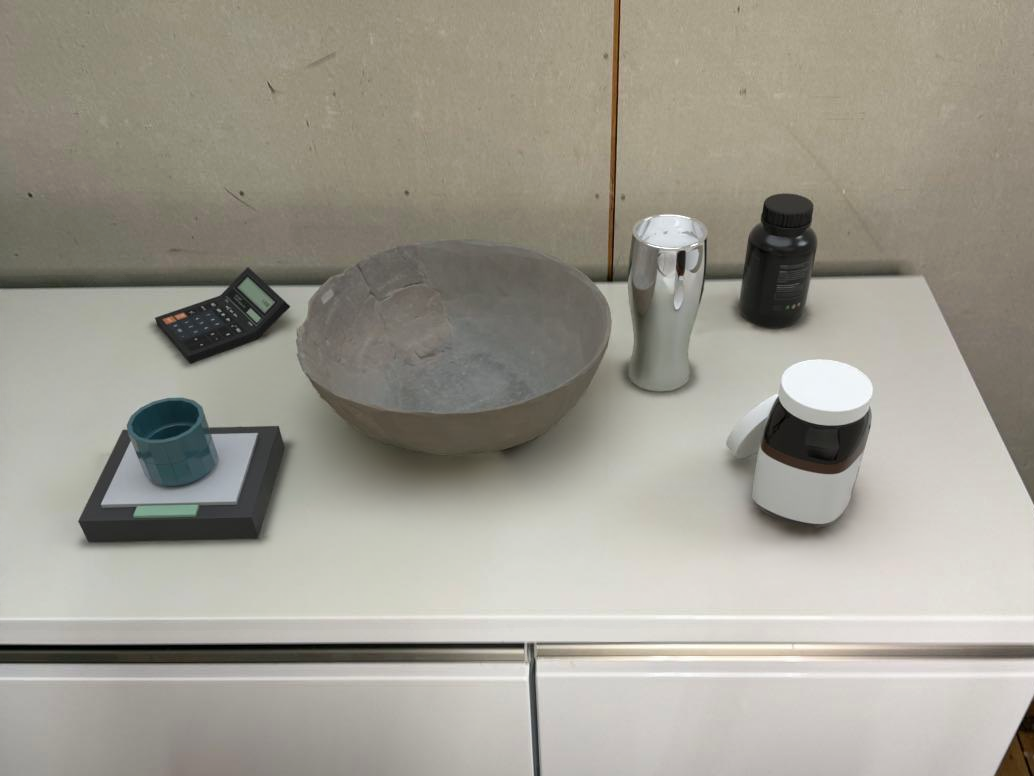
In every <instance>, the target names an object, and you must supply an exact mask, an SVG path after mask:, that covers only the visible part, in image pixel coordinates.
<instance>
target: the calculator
mask: <svg viewBox="0 0 1034 776" xmlns="http://www.w3.org/2000/svg"><path fill="white" fill-rule="evenodd" d="M290 308H291V306H290V305H289V303H287V301H285V300H284V298H283V297H281V296H280V295H279V294H278V293H277V292H276V291H275V290H274V289H273V288H271V287H270V286H269V285H268V284H267V283H266V282H265V281H264V280H263V279H262V278H261V277H259V276H258V275H257V274H256V273H255V271H254V270H252V269H251V268H250V267H249V266H247V267H246V268H245V269H244V271H242V272H241V274H239V275H238V276H237V277H236V279H234V280H233V281H232V282H231V284H230V285H229V286H228V287H227V288H226V289H225V290H224V291H223V292H222V293H221V294H220V295H217V296H214V297H211V298H208V299H206V300H202V301H200V302H197V303H194V304H191V305H187V306H185V307H182V308H178V309H176V310H173V311H170V312H168V313H165V314H162V315H159V316H157V317H154V319H155V320H154V321H155V323H156V325H157V326H158V328H159V329H160V330H161V331H162V332H163V334H164V335H165V336H166V337H167V338H168V339H169V341H170V342H171V343H172V344H173V345H174V347H175V348H176V349H177V350H178V351H179V353H181V355H182V356H183V357H184V358H185V360H187V361H188V363H189V364H190V365H191V364H194V363H196V362H199V361H202V360H204V359H207V358H209V357H212V356H215V355H217V354H220V353H224V352H226V351H228V350H232V349H234V348H237V347H240V346H242V345H245V344H248V343H250V342H253V341H257V340H259V339H260V337H262V336H263V335H264V334H265V332H267V331H268V330H269V329H270V328H271V327H272V326H273V325H274V324H275V323H276V322H277V321H278V320H279V319H280V318H281V317H282V316H283V315H284V314H285V313H286V312H287V311H288V310H289V309H290Z"/></svg>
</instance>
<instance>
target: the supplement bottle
mask: <svg viewBox="0 0 1034 776" xmlns="http://www.w3.org/2000/svg"><path fill="white" fill-rule="evenodd" d="M813 214H814V202H812V200H810V199H809V198H808V197H806V196H803V195H800V194H795V193H790V192H789V193H787V192H786V193H785V192H784V193H783V192H782V193H776V194H773V195H769V196H767V197H766V198H765V199H764V200H763V206H762V211H761V214H760V222H758V223H757V224H756V225H754V226H753V227H752V229H750V231H749V234H748V237H747V244H746V249H745V256H744V257H745V258H744V264H743V272H742V279H741V285H740V286H741V287H740V293H739V300H738V301H739V302H738V309H739V312H740V314H741V315H742V317H743V318H744V319H746V320H747V321H748V322H749V323H752V324H754V325H757V326H759V327H765V328H785V327H788V326H791V325H793V324H796V323H797V322H798V321H799V320H801V318H803V315H804V313H805V310H806V304H807V300H808V295H809V291H810V285H811V280H812V274H813V269H814V264H815V258H816V254H817V249H818V237H817V234H816V232H815V230H814V229H813V228H812V227H811V226H812V223H813Z"/></svg>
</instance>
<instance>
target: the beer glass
mask: <svg viewBox="0 0 1034 776" xmlns="http://www.w3.org/2000/svg"><path fill="white" fill-rule="evenodd" d="M631 231H632V234H631V235H632V236H631V241H630V243H631V244H630V248H629V255H628V256H629V257H628V265H627V266H628V268H627V293H628V294H627V295H628V304H629V311H630V318H631V325H632V332H633V346H632V352H631V355H630V359H629V363H628V369H627V376H628V378H629V380H630V381H631V382H632V383H633V384H634V385H635V386H636V387H638V388H640V389H643V390H646V391H649V392H655V393H656V392H657V393H660V392H661V393H662V392H663V393H664V392H671V391H675V390H677V389H680V388H682V387H683V386H685V385H686V384H687V383H688V381H689V380H690V378H691V367H690V359H689V348H690V340H691V336H692V332H693V328H694V325H695V322H696V319H697V316H698V312H699V310H700V306H701V302H702V298H703V294H704V290H705V283H706V277H707V263H708V262H707V260H708V234H709V231H708V227H707V226H706V225H705V224H704V223H703V222H701V220H698V219H697V218H694V217H692V216H688V215H683V214H680V213H679V214H677V213H659V214H653V215H649V216H646V217H642V219H640V220H638V221H637V222H636V223H635V224H634V225H633V226H632V230H631Z"/></svg>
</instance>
